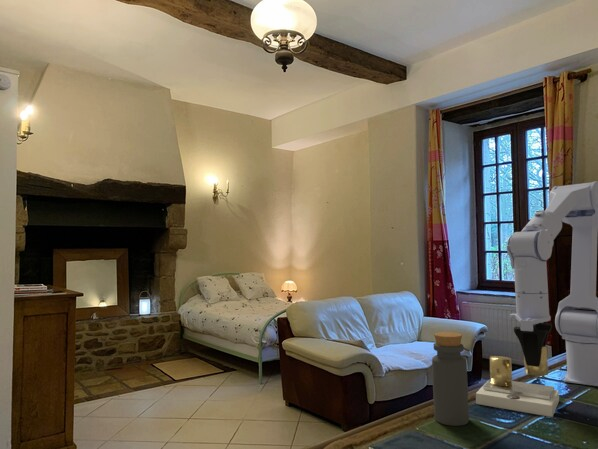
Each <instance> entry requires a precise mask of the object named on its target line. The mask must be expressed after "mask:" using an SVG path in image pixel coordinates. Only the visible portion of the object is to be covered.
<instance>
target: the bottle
mask: <svg viewBox="0 0 598 449" xmlns="http://www.w3.org/2000/svg"><path fill="white" fill-rule="evenodd" d="M462 337H463V335H462V334H461V333H459V332H455V331H454V332H452V331H441V332H439V331H438V332H434V339H435V342H434V343H433V350H434V351H436V355H434V356H433V357H432V359H431V365H432V366H431V367H432V369H431V370H432V372H431V373H432V391H433V392H432V393H433V412H434V414H433V415H434V418H433V419H434V420H435V421H436V422H438V423H439V424H442V425H445V426H453V427H457V426H458V427H459V426H465V425H467V424H468V423H469V419H470V413H469V412H470V411H469V391H468V368H467V365H468V364H467V360H466V359H465V358H464V357H463V356H462V354H461V353H462V352H464V344H462V339H463V338H462Z"/></svg>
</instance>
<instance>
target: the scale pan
mask: <svg viewBox="0 0 598 449" xmlns="http://www.w3.org/2000/svg"><path fill="white" fill-rule="evenodd" d="M487 381H488V380H487ZM487 381H486V382H487ZM486 382H485V383H486ZM485 383H484V384H485ZM484 384H483V385H484ZM483 385H482V386H483ZM483 390H490V391H496V392H502V393H509V394H515V395H522V396H528V397H535V398H541V399H548V400H550V398H551V396H552V394H553V392H554V390H555V386H552V385H545V384H537V383H530V382H523V381H516V380H512V385H511V386H499V385H494V384H492V383H490V379H489V381H488V382H487V383H486V384H485V385H484V386H483Z"/></svg>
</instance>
